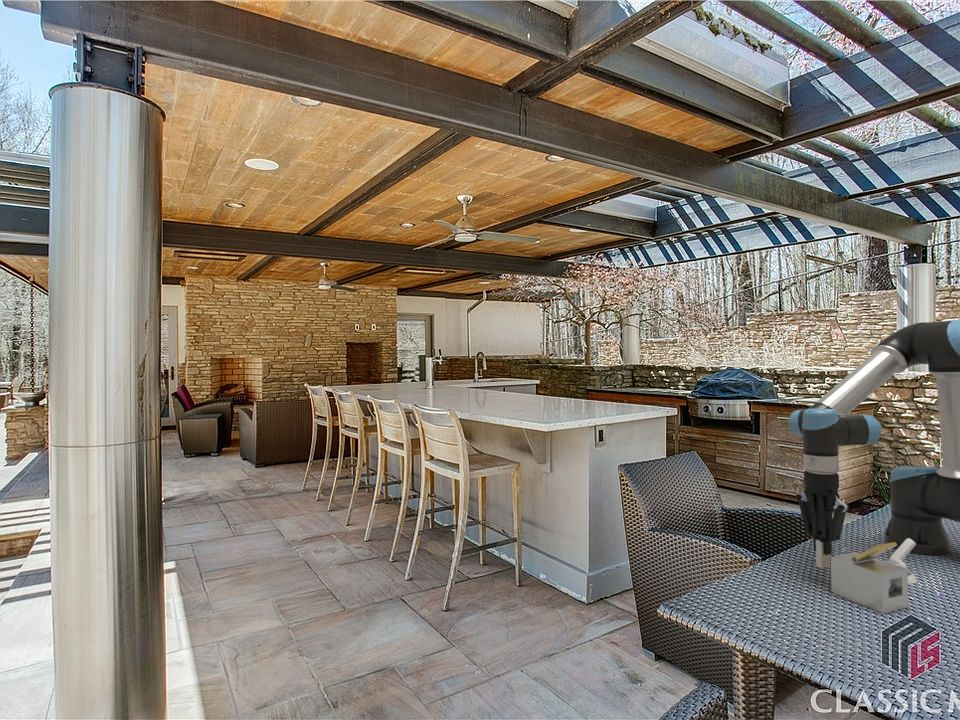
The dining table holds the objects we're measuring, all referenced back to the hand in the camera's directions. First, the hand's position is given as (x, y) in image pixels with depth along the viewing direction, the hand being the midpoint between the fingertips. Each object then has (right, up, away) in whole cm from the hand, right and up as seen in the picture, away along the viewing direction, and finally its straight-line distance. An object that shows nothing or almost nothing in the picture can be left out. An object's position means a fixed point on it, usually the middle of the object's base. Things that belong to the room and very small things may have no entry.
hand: (822, 565), depth 140 cm
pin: (+3, -1, -9) cm, 10 cm away
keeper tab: (+4, +7, -12) cm, 15 cm away
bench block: (+4, -4, -11) cm, 12 cm away
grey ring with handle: (+20, -4, +1) cm, 20 cm away
